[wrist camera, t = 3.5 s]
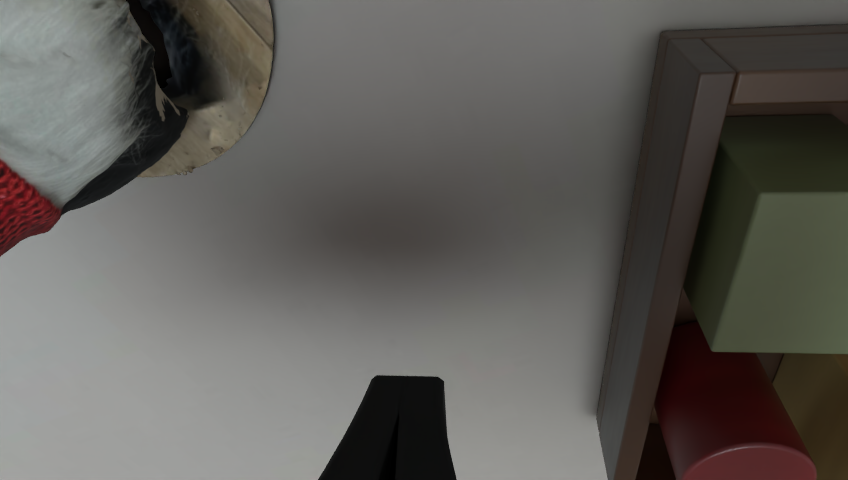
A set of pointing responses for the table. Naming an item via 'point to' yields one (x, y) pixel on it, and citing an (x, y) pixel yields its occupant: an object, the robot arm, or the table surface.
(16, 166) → the figurine
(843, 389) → the tray of colored blocks
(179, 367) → the table surface
